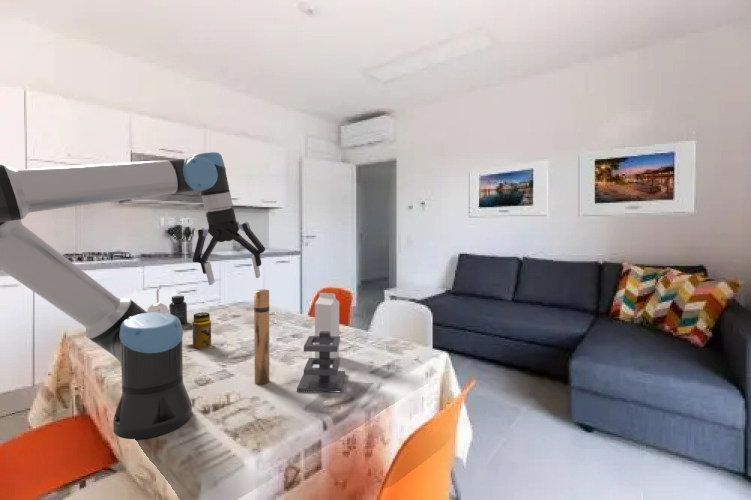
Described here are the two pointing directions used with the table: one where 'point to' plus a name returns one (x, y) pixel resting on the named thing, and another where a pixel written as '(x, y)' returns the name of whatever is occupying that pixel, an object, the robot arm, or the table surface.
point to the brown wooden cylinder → (261, 336)
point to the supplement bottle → (179, 308)
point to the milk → (327, 317)
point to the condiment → (201, 332)
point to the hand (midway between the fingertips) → (235, 280)
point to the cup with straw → (158, 306)
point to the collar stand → (322, 365)
